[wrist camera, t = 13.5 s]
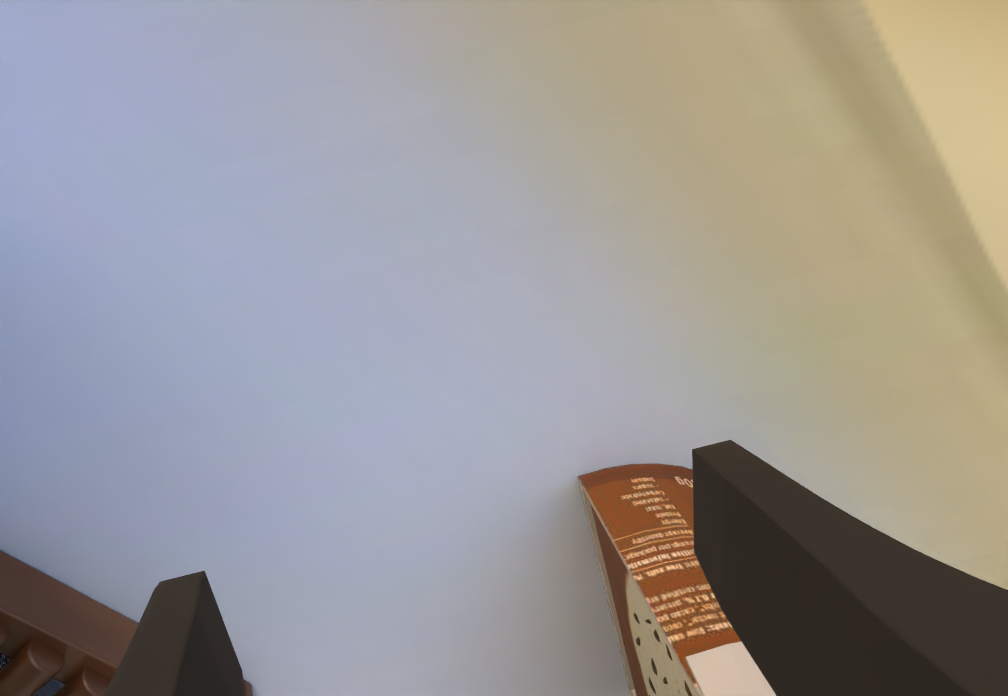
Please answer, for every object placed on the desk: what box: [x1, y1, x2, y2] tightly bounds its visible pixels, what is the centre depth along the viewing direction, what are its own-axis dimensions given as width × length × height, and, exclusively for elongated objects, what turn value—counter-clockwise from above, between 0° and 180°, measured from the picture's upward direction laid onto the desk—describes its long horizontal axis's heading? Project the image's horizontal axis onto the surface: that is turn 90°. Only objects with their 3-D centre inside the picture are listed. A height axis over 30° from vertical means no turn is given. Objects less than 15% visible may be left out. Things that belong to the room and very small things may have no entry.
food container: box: [578, 464, 776, 696], centre depth 25 cm, size 12×6×10 cm, turn 13°
